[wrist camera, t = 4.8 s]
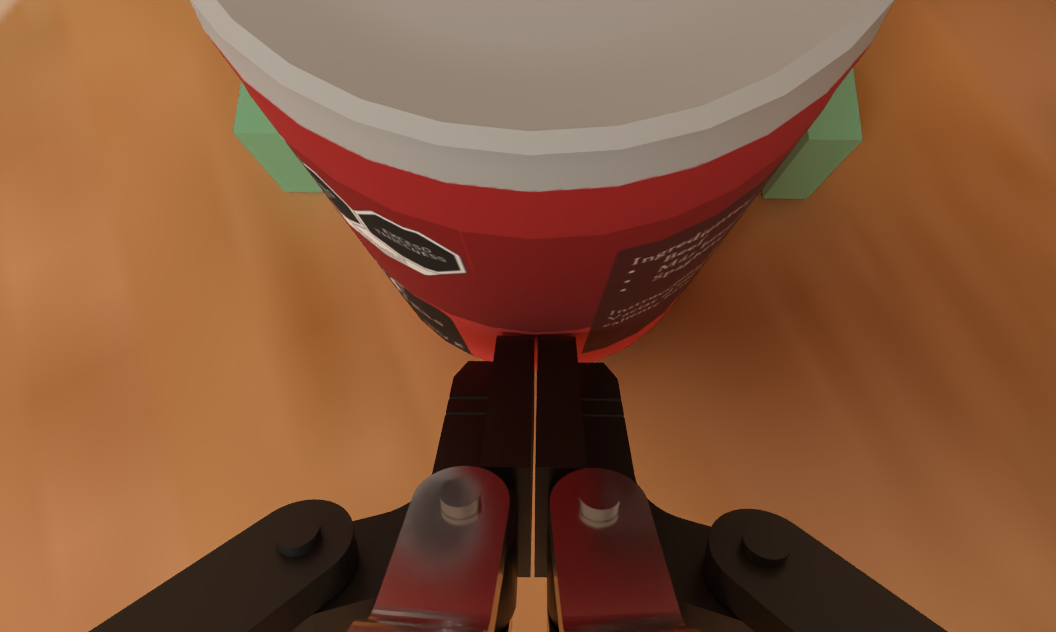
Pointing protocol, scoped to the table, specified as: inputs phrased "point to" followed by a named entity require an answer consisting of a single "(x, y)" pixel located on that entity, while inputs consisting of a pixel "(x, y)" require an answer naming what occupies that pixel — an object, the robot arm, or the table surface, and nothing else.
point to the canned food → (541, 140)
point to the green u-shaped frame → (791, 180)
